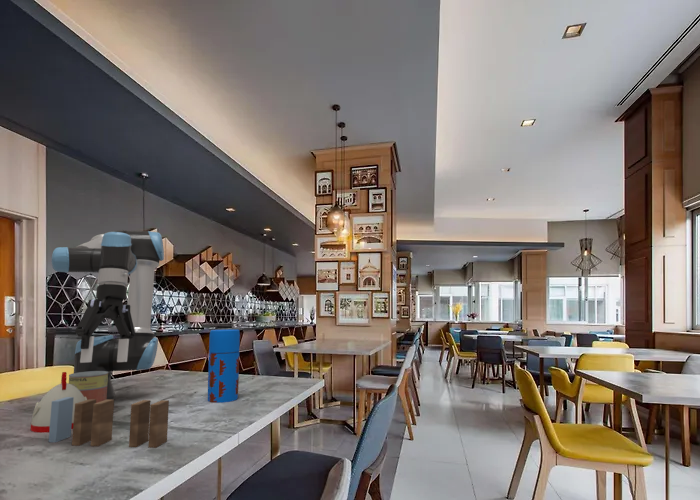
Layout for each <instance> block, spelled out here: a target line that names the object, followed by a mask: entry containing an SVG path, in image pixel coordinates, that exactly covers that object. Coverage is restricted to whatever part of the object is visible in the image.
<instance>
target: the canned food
mask: <svg viewBox="0 0 700 500" xmlns="http://www.w3.org/2000/svg"><path fill="white" fill-rule="evenodd" d="M108 373H109V372H108V371H87V372H79V373H74V372H73V373H70V374H69V375H68V384H71V385H73V386H75V387H76V388H77V389H78V390H79V391H80V392H81V393H82V394H83V396H84V397H86V398H87V400H88V399H96V403H98V402H101V401H104V400H106V398H107V383H108Z"/></svg>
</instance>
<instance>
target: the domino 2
mask: <svg viewBox="0 0 700 500" xmlns="http://www.w3.org/2000/svg"><path fill="white" fill-rule="evenodd" d="M95 403H96V399H88V400H85V401H82V402H79V403H75V411H74V423H73V429H72V435H71V436H72V437H71V438H72V440H71V446H75V447H77V446H78V447H80V446H82V445H84V444H86V443H88V442H89V443H90V442H91V433H92V419H93V405H94V404H95Z"/></svg>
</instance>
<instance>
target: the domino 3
mask: <svg viewBox="0 0 700 500" xmlns="http://www.w3.org/2000/svg"><path fill="white" fill-rule="evenodd" d="M114 407H115V400H104V401H101V402H98V403H95V404H94V405H93V419H92V433H91V441H90V447H100V446H102V445H104V444H106V443H108V442H111V441H112V440H113V426H114V425H113V424H114V410H115V409H114Z"/></svg>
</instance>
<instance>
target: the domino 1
mask: <svg viewBox="0 0 700 500" xmlns="http://www.w3.org/2000/svg"><path fill="white" fill-rule="evenodd" d="M73 399H74V397H66V398H62V399H58V400H55V401H52V405H51V418H50V430H49V432H48V433H49V434H48V443H57V442H60V441H63V440H65V439H67V438H70V437H71V436H72V429H71V426H72V413H73Z"/></svg>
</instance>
